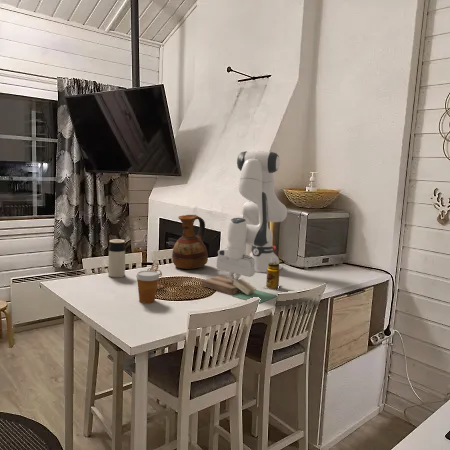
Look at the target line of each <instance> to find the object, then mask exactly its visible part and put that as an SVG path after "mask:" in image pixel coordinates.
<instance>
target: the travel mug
mask: <svg viewBox="0 0 450 450" xmlns="http://www.w3.org/2000/svg"><path fill="white" fill-rule="evenodd" d="M125 242H126V241H125V240H124V239H120V238H119V239H116V238H115V239H110V240H109V246H108V274H107V275H108V277H110V278H113V277H114V278H124V276H125V275H126V246H125Z"/></svg>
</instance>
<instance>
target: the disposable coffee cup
mask: <svg viewBox="0 0 450 450" xmlns="http://www.w3.org/2000/svg"><path fill="white" fill-rule="evenodd" d="M159 274H160V273H159V271H157V272H156V271H155V270H154V271H153V270H152V271H147V270H139V271H138V272H136V275H135V277H136V280H137V290H138V299H139V300H138V302H139V303H142V304H152V303H153V304H154V302H155V301H156V295H157V290H156V289H157V283H158V280H159V278H160V277H159V276H160V275H159Z"/></svg>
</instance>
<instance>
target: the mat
mask: <svg viewBox="0 0 450 450" xmlns="http://www.w3.org/2000/svg"><path fill="white" fill-rule="evenodd" d="M276 295H277V294H273V293H271V292H266V291H262V290H259V289H256V291H255V293H252V294H249V295H247V294H245V293H244V292H243V291H242V292H239V293H236V294H233V295H232V298H233V297H234V298H237V299H240V300H245V301H247V299H250V298H253V297H259V298H260V299H261V300H260V303H259V304H262V303H264V302H267V301H269V299H270V300H272V299H274V297H275V298H276ZM271 298H272V299H271ZM261 302H262V303H261Z"/></svg>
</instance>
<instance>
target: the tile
mask: <svg viewBox="0 0 450 450" xmlns="http://www.w3.org/2000/svg"><path fill="white" fill-rule="evenodd" d="M233 285H234V286H236V287H237V288H238V289H240V290H241V291H242V292H244V293H245V294H247V295H249V294H252V293H255V291H256V290H257V288H256V287H255V286H253V285H252V284H250V282H248V281H246V280H245V279H244V278H240V279H238V280H236V281H234V283H233Z"/></svg>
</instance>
